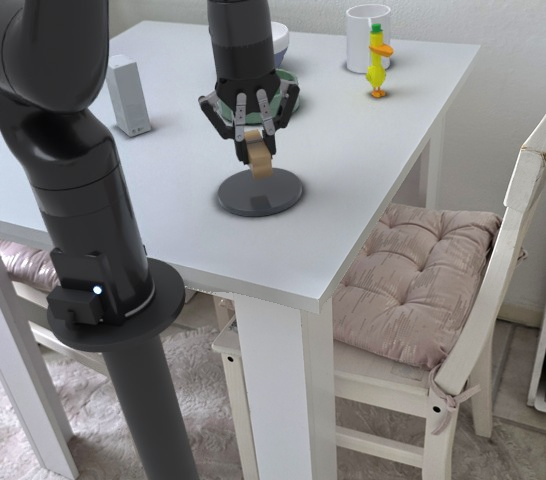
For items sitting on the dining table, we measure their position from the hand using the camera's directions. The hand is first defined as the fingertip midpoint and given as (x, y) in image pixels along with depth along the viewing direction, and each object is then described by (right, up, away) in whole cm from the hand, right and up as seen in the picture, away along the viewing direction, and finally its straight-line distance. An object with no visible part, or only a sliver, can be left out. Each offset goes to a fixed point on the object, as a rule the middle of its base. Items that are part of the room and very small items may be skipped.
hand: (257, 159), depth 91 cm
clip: (0, -1, 0) cm, 1 cm away
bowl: (-1, +25, +39) cm, 47 cm away
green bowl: (0, +15, +26) cm, 30 cm away
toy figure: (+21, +17, +26) cm, 37 cm away
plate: (0, -4, +3) cm, 5 cm away
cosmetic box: (-22, +10, +25) cm, 35 cm away
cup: (+21, +25, +35) cm, 48 cm away
